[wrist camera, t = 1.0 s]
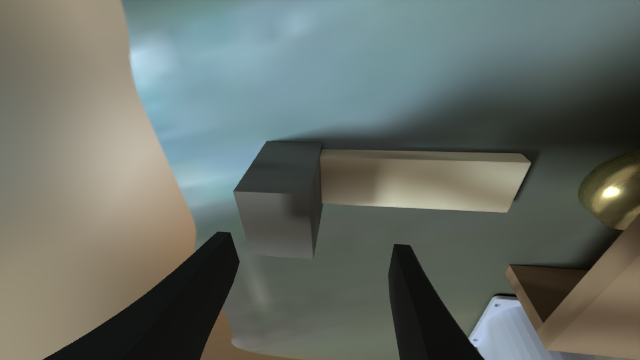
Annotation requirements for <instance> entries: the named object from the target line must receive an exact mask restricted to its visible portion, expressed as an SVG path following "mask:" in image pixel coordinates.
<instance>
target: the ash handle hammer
mask: <svg viewBox="0 0 640 360" xmlns="http://www.w3.org/2000/svg"><path fill="white" fill-rule="evenodd" d="M530 165H531V162H530V161H529V160H528V159H527V158H526V157H524V156H523V155H522V154H520V153H475V152H430V151H385V150H341V149H322V143H313V142H266V143H265V144H264V146H263V147H262V149H261V150H260V152H259V153H258V155H257V156H256V158H255V159H254V161H253V162H252V164H251V166H250V167H249V169H248V170H247V172H246V173H245V175H244V176H243V178H242V179H241V181H240V182H239V184H238V185H237V187H236V188H235V190H234V191H233V192H234V196H235V199H236V203H237V206H238V210H239V213H240V217H241V221H242V224H243V228H244V231H245V235H246V238H247V242H248V245H249V249H250V252H251V255H264V256H277V257H291V258H304V259H313V258H314V253H315V247H316V241H317V235H318V230H319V224H320V218H321V213H322V207H323V204H343V205H364V206H385V207H406V208H426V209H447V210H468V211H488V212H508V210H509V208H510V205H511V203H512V201H513V199H514V197H515V195H516V193H517V191H518V189H519V187H520V185H521V183H522V181H523V179H524V177H525V175H526V173H527V171H528V169H529V167H530Z"/></svg>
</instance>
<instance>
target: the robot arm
mask: <svg viewBox="0 0 640 360" xmlns="http://www.w3.org/2000/svg"><path fill="white" fill-rule="evenodd" d="M239 263H240V261H239V258H238V255H237V252H236V249H235V246H234V242H233V239H232V236H231V233H230V232H217V233H216V234H214V235H213V236H212V237H211V238H210V239H209V240H208V241H207V242H205V243H204V244H203V245H202V246H201V247H200V248H199V249H198V250H197V251H196V252H195V253H193V255H191V256H190V257H189V258H188V259H187V260H186V261H184V262H183V263H182V264H181V265H180V266H179V267H178V268H177V269H175V270H174V271H173V272H172V273H171V274H169V275H168V276H167V277H166V278H165V279H163V280H162V281H161V282H160V283H159V284H157V285H156V286H155V287H154V288H152V289H151V290H150V291H149V292H147V293H146V294H145V295H143V296H142V297H141V298H139V299H138V300H137V301H135V302H134V303H132V304H131V305H130V306H129V307H127V308H125V309H124V310H123V311H121V312H120V313H118V314H117V315H115V316H114V317H112V318H111V319H109V320H108V321H106V322H104V323H103V324H101V325H100V326H98V327H97V328H95V329H94V330H92V331H91V332H89V333H88V334H86V335H84V336H82V337H81V338H79V339H78V340H76V341H74V342H73V343H71V344H69V345H67V346H66V347H64V348H62V349H61V350H59V351H57V352H55V353H54V354H52V355H50V356H48V357H46V358H45V359H43V360H200V358H201V355H202V352H203V350H204V347H205V344H206V342H207V339H208V337H209V335H210V332H211V330H212V328H213V326H214V324H215V321H216V319H217V317H218V315H219V313H220V311H221V309H222V306H223V304H224V302H225V300H226V298H227V296H228V293H229V291H230V289H231V287H232V284H233V282H234V279H235V276H236V272H237V269H238V266H239ZM388 278H389V294H390V303H391V309H392V315H393V321H394V327H395V333H396V339H397V344H398V350H399V356H400V360H595V358H594V357H593V355H589V354H580V353H570V352H561V351H552V350H545V348H544V346H543V344H542V342H541V340H540V338H539V337H538V335H537V333H536V331H535V329H534V327H533V326H532V324H531V322H530V320H529V318H528V316H527V314H526V313H525V311H524V309H523V307H522V305H521V303H520V302H519V300H518V298H517V297H509V296H495V297H493V298H492V300H491V301H490V303H489V305H488V306H487V308H486V310H485V311H484V313H483V315H482V317H481V318H480V320H479V322H478V323H477V325H476V327H475V328H474V330H473V332H472V333H471V335H470V337H469V338H467V336H466V335H465V334H464V332H463V331H462V330H461V328H460V327H459V325H458V324H457V323H456V321H455V320H454V318H453V317H452V315H451V314H450V313H449V311H448V310H447V308H446V307H445V305H444V304H443V302H442V301H441V299H440V297H439V296H438V294H437V293H436V291H435V289H434V288H433V286H432V284H431V283H430V281H429V279H428V278H427V276H426V274H425V272H424V271H423V269H422V267H421V265H420V263H419V261H418V260H417V258H416V256H415V254H414V252H413V249H412V247H411V246H410V245H401V244H394V248H393V253H392V258H391V263H390V268H389V273H388ZM475 347H478V350H479V352H478V351H477V349H476V348H475Z"/></svg>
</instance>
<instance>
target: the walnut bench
mask: <svg viewBox="0 0 640 360" xmlns="http://www.w3.org/2000/svg"><path fill="white" fill-rule="evenodd" d="M504 274H505V276H506V278H507V279H508V281H509V283H510V285H511V287H512V289H513V290H514V292H515V294H516V296H517V298H518V300H519V302H520V303H521V305H522V307H523V309H524V311H525V313H526V314H527V316H528V318H529V320H530V322H531V324H532V326H533V327H534V329H535V331H536V333H537V335H538V337H539V338H540V340H541V342H542V344H543V346H544V348H545V350H552V351H561V352H570V353H580V354H589V355H598V356H608V357H617V358H627V359H636V360H640V213H639V214H638V215H637V216H636V218H635V219H634V220H633V221H632V222H631V223H630V224H629V226H628V227H627V228H626V229H625V230H624V231H623V233H622V234H621V235H620V236H619V237H618V238H617V239H616V241H615V242H614V243H613V244H612V245H611V246H610V247H609V249H608V250H607V251H606V252H605V253H604V254H603V255H602V257H601V258H600V259H599V260H598V261H597V262H596V264H595V265H594V266H593V267H592V268H591V269H590V270H575V269H561V268H547V267H533V266H519V265H509V266H508V268H507V270H506V271H505V273H504Z"/></svg>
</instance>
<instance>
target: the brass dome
mask: <svg viewBox="0 0 640 360" xmlns="http://www.w3.org/2000/svg"><path fill="white" fill-rule="evenodd" d="M578 198H579V201H580V203H581V204H582V205H583V206H584V207H585V208H587V209H588V210H589V211H590V212H591V213H592V214H593V215H594V216H595V217H597V218H598V219H599V220H600V221H601V222H602V223H603V224H605V225H606V226H608V227H611V228H614V229H619V230H625V229H626V228H627V227H628V226H629V224H630V223H631V222H632V221H633V220H634V219H635V218H636V216H637V215H638V214H639V213H640V150H635V151H630V152H627V153H623V154H621V155H618V156H616V157H613V158H611V159H609V160H607V161H605V162H604V163H602V164H600V165H599V166H597V167H596V168H595V169H593V170H592V171H591V172H590V173H589V174H588V175H587V176H586V177H585V179H584V180H583V181H582V183H581V185H580V187H579V190H578Z"/></svg>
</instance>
